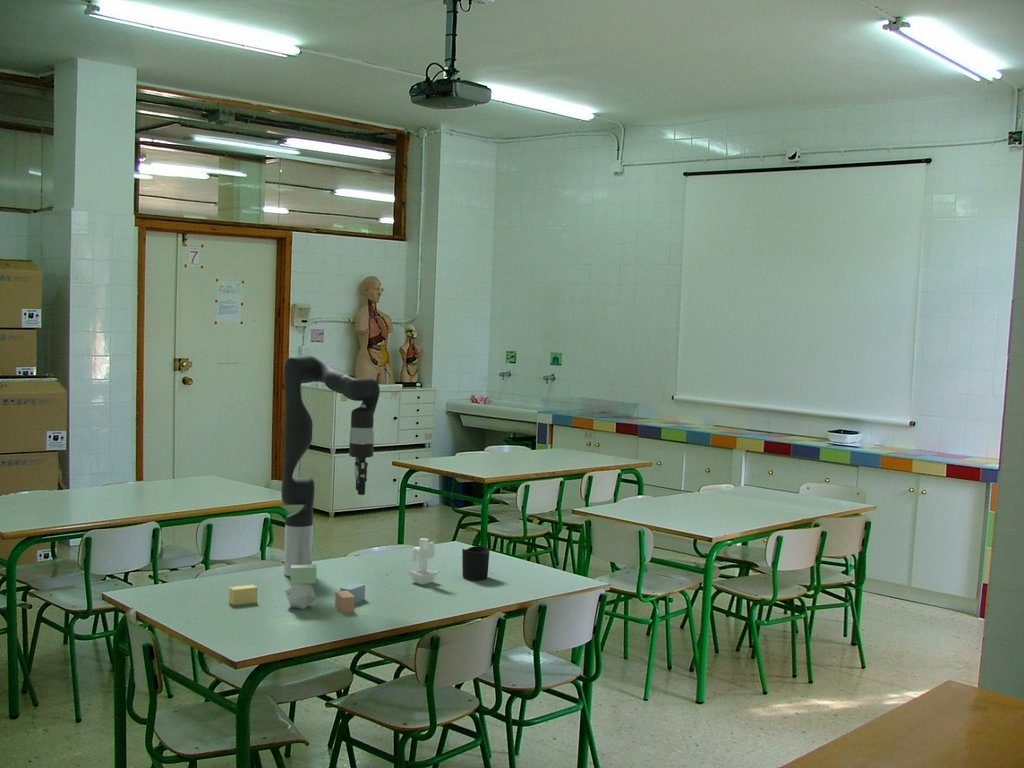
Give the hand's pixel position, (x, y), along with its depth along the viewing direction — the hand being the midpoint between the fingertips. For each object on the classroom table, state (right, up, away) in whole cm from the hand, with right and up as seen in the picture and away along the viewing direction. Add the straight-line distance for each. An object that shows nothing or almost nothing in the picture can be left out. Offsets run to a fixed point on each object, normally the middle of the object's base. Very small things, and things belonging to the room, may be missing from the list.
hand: (360, 492), depth 316 cm
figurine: (+18, -33, +22) cm, 43 cm away
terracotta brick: (-3, -34, -14) cm, 37 cm away
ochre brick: (-34, -33, -10) cm, 48 cm away
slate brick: (-2, -34, -5) cm, 34 cm away
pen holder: (+35, -33, +31) cm, 57 cm away
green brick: (-15, -26, -13) cm, 33 cm away
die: (-16, -34, -13) cm, 40 cm away
